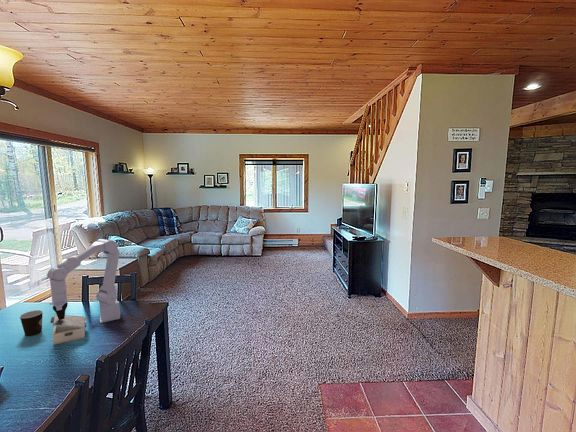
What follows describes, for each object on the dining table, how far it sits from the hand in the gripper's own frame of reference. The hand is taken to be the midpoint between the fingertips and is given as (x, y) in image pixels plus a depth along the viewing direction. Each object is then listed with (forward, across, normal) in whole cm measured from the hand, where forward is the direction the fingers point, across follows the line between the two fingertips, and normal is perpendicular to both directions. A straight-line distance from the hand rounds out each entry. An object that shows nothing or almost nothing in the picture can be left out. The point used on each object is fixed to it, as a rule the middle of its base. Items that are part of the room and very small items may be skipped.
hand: (61, 318), depth 145 cm
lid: (+2, 0, +2) cm, 3 cm away
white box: (+9, 0, +2) cm, 10 cm away
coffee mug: (+10, -14, -12) cm, 21 cm away
